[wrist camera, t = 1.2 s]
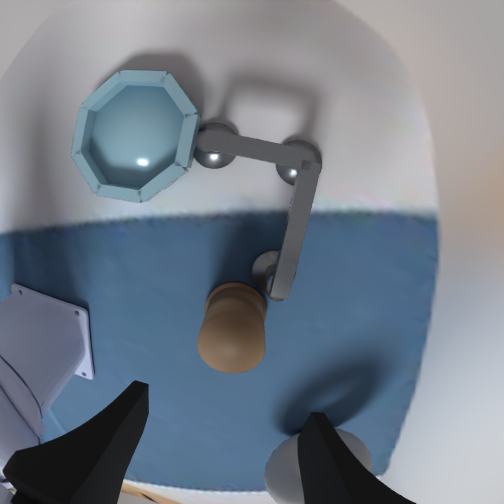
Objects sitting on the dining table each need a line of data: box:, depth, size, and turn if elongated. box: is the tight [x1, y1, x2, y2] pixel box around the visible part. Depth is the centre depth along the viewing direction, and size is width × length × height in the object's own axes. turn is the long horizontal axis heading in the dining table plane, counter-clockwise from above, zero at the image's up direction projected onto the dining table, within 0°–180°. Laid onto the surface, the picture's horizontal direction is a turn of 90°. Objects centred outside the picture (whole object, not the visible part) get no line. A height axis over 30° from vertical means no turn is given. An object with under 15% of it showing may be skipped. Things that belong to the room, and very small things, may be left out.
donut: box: [264, 428, 372, 504], centre depth 21 cm, size 10×4×10 cm, turn 105°
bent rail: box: [193, 123, 322, 301], centre depth 17 cm, size 8×10×4 cm
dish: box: [71, 70, 201, 203], centre depth 17 cm, size 9×9×2 cm
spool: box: [197, 281, 266, 373], centre depth 19 cm, size 4×4×5 cm
